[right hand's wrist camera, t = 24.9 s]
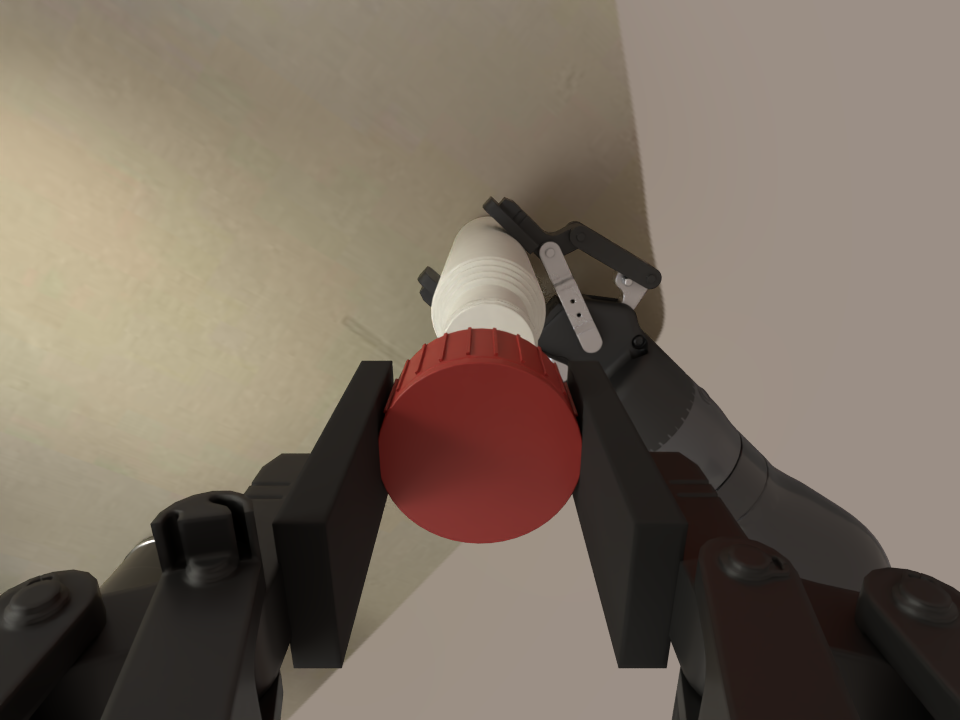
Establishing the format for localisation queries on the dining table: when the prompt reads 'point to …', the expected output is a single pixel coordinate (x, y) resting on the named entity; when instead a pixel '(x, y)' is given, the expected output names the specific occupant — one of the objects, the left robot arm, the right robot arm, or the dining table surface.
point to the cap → (480, 437)
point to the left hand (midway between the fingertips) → (455, 238)
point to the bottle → (488, 285)
